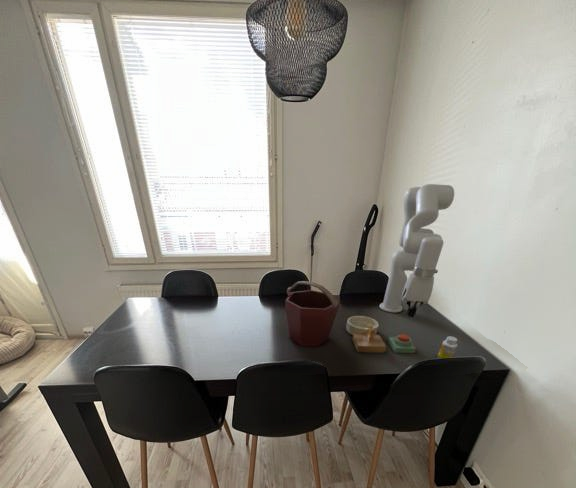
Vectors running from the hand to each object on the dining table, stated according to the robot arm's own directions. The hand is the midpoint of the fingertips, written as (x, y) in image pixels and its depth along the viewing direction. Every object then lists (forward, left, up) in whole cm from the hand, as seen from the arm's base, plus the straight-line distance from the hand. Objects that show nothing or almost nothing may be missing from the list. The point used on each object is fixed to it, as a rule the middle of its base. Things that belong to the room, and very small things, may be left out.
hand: (410, 316), depth 123 cm
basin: (-14, -15, -15) cm, 25 cm away
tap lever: (-2, -15, -12) cm, 19 cm away
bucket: (-7, -41, -15) cm, 44 cm away
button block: (0, 0, -15) cm, 15 cm away
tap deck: (-1, -15, -15) cm, 21 cm away
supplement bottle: (+10, +15, -15) cm, 24 cm away
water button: (0, 0, -12) cm, 12 cm away
